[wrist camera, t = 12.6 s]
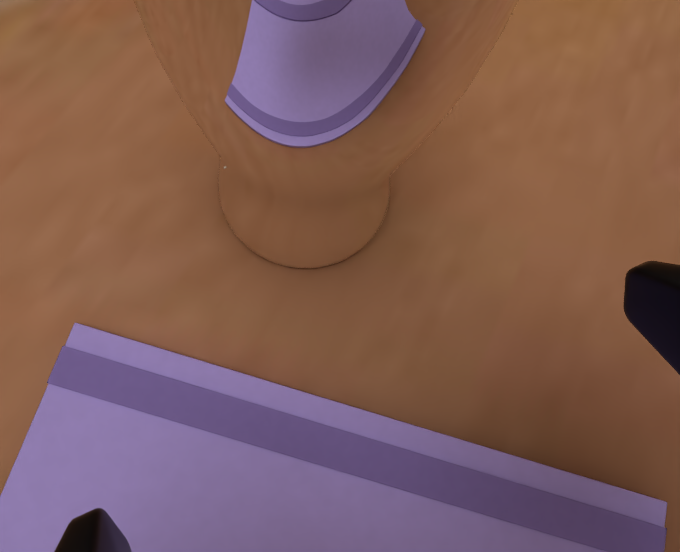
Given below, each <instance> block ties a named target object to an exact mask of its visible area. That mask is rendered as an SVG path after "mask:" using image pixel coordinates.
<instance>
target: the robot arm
mask: <svg viewBox="0 0 680 552" xmlns="http://www.w3.org/2000/svg"><path fill="white" fill-rule="evenodd" d="M624 312H625V314H626V316H627V318H628V320H629V321H630V322H631V323H632V324H633V325H634V327H635V328H636V329H637V330H638V331H639V332H640V333H641V334H642V335H643V336H644V337H645V338H646V339H647V340H648V342H649V343H650V344H651V345H652V346H653V347H654V348H655V349H656V350H657V351H658V352H659V353H660V354H661V355H662V356H663V358H664V359H665V360H666V361H667V362H668V363H669V364H670V365H671V366H672V367H673V368H674V369H675V370H676V371H677V373H678V374H679V375H680V265H675V264H669V263H663V262H657V261H648V262H645V263H643V264H640V265H638V266H636V267H634V268H631V269H630V270H629V271H628V272H627V274H626V278H625V292H624ZM54 552H132V551H131V548H130V545H129V543H128V541H127V539H126V537H125V536H124V535H123V533H122V532H121V531H120V529H119V528H118V527H117V525H116V524H115V523H114V521H113V520H112V519H111V517H110V516H109V515H108V513H107V512H106V511H105V510H104V509H102V508H95V509H93V510H91V511H89V512H86V513H84V514H82V515H80V516H78V517H75V518H74V519H72V520H71V522H70V523H69V524H68V526H67V528H66V530H65V532H64V534H63V536H62V538H61V540H60V542H59V544H58V545H57V547H56V549H55V551H54Z"/></svg>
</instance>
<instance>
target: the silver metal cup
mask: <svg viewBox="0 0 680 552" xmlns="http://www.w3.org/2000/svg"><path fill="white" fill-rule="evenodd" d="M518 1H519V0H134V3H135V5H136V8H137V10H138V13H139V15H140V18H141V20H142V23H143V25H144V28H145V30H146V32H147V35H148V37H149V40H150V42H151V45H152V47H153V49H154V52H155V54H156V56H157V58H158V60H159V61H160V63H161V65H162V67H163V69H164V70H165V72H166V74H167V76H168V77H169V79H170V81H171V83H172V85H173V86H174V88H175V90H176V92H177V93H178V95H179V97H180V99H181V100H182V102H183V104H184V105H185V107H186V109H187V110H188V111H189V113H190V114H191V116H192V117H193V119H194V120H195V122H196V123H197V125H198V126H199V128H200V129H201V131H202V132H203V134H204V135H205V136H206V138H207V139H208V141H209V142H210V143H211V145H212V146H213V148H214V149H215V150H216V152H217V153H218V155H219V156H220V158H221V160H220V166H219V174H218V192H219V200H220V204H221V208H222V211H223V214H224V216H225V219H226V221H227V223H228V225H229V226H230V228H231V229H232V231H233V232H234V233H235V235H236V236H237V237H238V238H239V239H240V240H241V241H242V242H243V243H244V244H245V245H246V246H247V247H248V248H250V249H251V250H252V251H253V252H255V253H256V254H258V255H260V256H261V257H263V258H265V259H267V260H269V261H271V262H274V263H277V264H280V265H283V266H288V267H294V268H318V267H324V266H328V265H331V264H335V263H337V262H340V261H342V260H344V259H346V258H348V257H350V256H352V255H353V254H355V253H356V252H358V251H359V250H360V249H362V248H363V247H364V246H365V245H366V244H367V243H368V242H369V241H370V240H371V239H372V238H373V236H374V235H375V234H376V232H377V231H378V229H379V227H380V226H381V224H382V222H383V219H384V217H385V214H386V211H387V208H388V204H389V198H390V175H391V174H392V173H393V172H394V171H395V170H396V169H397V168H398V167H399V166H400V165H401V164H402V163H403V162H404V161H405V160H406V159H407V158H408V157H409V156H410V155H411V154H412V153H413V152H414V151H415V150H416V149H417V148H418V147H419V146H420V145H421V144H422V143H423V142H424V141H425V139H426V138H427V137H428V136H429V135H430V134H431V133H432V132H433V131H434V130H435V129H436V128H437V126H438V125H439V124H440V123H441V121H442V120H443V119H444V118H445V117H446V115H447V114H448V113H449V112H450V110H451V109H452V108H453V107H454V105H455V104H456V103H457V102H458V101H459V99H460V98H461V97H462V96H463V94H464V93H465V92H466V90H467V89H468V88H469V86H470V85H471V83H472V81H473V80H474V78H475V77H476V75H477V73H478V72H479V70H480V68H481V67H482V65H483V63H484V62H485V60H486V59H487V57H488V55H489V54H490V52H491V50H492V49H493V47H494V46H495V44H496V42H497V41H498V39H499V37H500V36H501V34H502V32H503V30H504V28H505V26H506V24H507V22H508V20H509V18H510V16H511V14H512V12H513V10H514V9H515V7H516V5H517V3H518Z"/></svg>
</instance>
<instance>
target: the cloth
mask: <svg viewBox="0 0 680 552" xmlns="http://www.w3.org/2000/svg"><path fill="white" fill-rule="evenodd" d="M47 383H49V384H48V386H47V388H46V391H45V393H44V395H43V398H42V400H41V402H40V405H39V407H38V410H37V412H36V414H35V417H34V419H33V421H32V424H31V426H30V428H29V431H28V433H27V435H26V438H25V440H24V442H23V445H22V447H21V449H20V452H19V454H18V456H17V459H16V461H15V463H14V466H13V468H12V470H11V473H10V475H9V477H8V480H7V482H6V484H5V487H4V489H3V491H2V494H1V496H0V552H54V551H55V549H56V547H57V545H58V544H59V542H60V540H61V538H62V536H63V534H64V532H65V530H66V528H67V526H68V524H69V523H70V522H71V520H72V519H74V518H75V517H78V516H80V515H82V514H84V513H86V512H89V511H91V510H93V509H95V508H102V509H104V510H105V511H106V512H107V513H108V515H109V516H110V517H111V519H112V520H113V521H114V523H115V524H116V525H117V527H118V528H119V529H120V531H121V532H122V533H123V535H124V536H125V537H126V539H127V541H128V543H129V545H130V548H131V551H132V552H664V548H665V539H666V531H667V528H664V526H665V517H666V509H667V502H666V501H662V500H659V499H656V498H652V497H649V496H646V495H642V494H639V493H636V492H633V491H629V490H626V489H623V488H619V487H616V486H613V485H609V484H606V483H603V482H600V481H596V480H593V479H590V478H586V477H583V476H580V475H577V474H573V473H570V472H567V471H563V470H560V469H557V468H553V467H550V466H547V465H544V464H540V463H537V462H534V461H530V460H527V459H524V458H520V457H517V456H514V455H511V454H507V453H504V452H501V451H497V450H494V449H491V448H487V447H484V446H481V445H478V444H474V443H471V442H468V441H464V440H461V439H458V438H455V437H451V436H448V435H445V434H441V433H438V432H435V431H431V430H428V429H425V428H422V427H418V426H415V425H412V424H408V423H405V422H402V421H398V420H395V419H392V418H389V417H385V416H382V415H379V414H375V413H372V412H369V411H366V410H362V409H359V408H356V407H352V406H349V405H346V404H342V403H339V402H336V401H333V400H329V399H326V398H323V397H319V396H316V395H313V394H309V393H306V392H303V391H300V390H296V389H293V388H290V387H286V386H283V385H280V384H276V383H273V382H270V381H267V380H263V379H260V378H257V377H253V376H250V375H247V374H244V373H240V372H237V371H234V370H230V369H227V368H224V367H220V366H217V365H214V364H211V363H207V362H204V361H201V360H197V359H194V358H191V357H187V356H184V355H181V354H178V353H174V352H171V351H168V350H164V349H161V348H158V347H155V346H151V345H148V344H145V343H141V342H138V341H135V340H131V339H128V338H125V337H122V336H118V335H115V334H112V333H108V332H105V331H102V330H98V329H95V328H92V327H89V326H85V325H82V324H79V323H74V325H73V328H72V330H71V332H70V335H69V337H68V339H67V342H66V344H65V346H63V347H62V349H61V351H60V354H59V356H58V358H57V361H56V363H55V365H54V368H53V370H52V372H51V375H50V377H49V379H48V382H47Z"/></svg>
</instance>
